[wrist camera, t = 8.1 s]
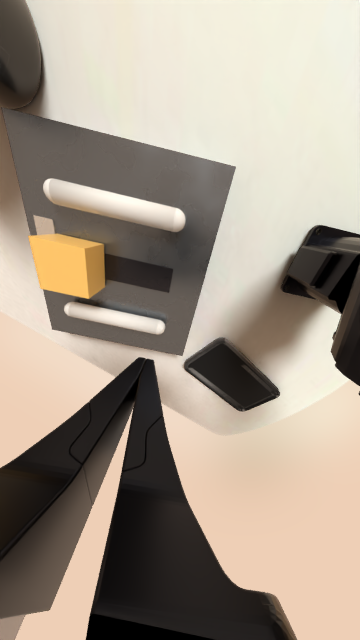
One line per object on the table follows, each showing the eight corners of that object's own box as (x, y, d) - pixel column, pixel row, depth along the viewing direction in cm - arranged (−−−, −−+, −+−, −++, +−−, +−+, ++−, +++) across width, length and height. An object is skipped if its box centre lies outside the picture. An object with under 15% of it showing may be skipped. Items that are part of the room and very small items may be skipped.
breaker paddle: (103, 244, 15) (84, 248, 12) (105, 287, 17) (88, 298, 14) (57, 233, 14) (28, 235, 12) (64, 278, 16) (40, 288, 14)
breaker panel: (228, 177, 14) (236, 166, 12) (183, 341, 23) (182, 356, 21) (38, 129, 14) (0, 106, 11) (68, 317, 23) (51, 329, 20)
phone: (241, 413, 29) (181, 366, 25) (239, 406, 30) (181, 361, 26) (283, 394, 26) (224, 338, 22) (280, 388, 27) (222, 333, 23)
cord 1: (167, 318, 18) (165, 326, 17) (165, 330, 19) (162, 338, 18) (69, 297, 18) (59, 304, 16) (71, 310, 19) (61, 318, 17)
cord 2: (187, 211, 13) (187, 209, 12) (183, 233, 14) (182, 234, 13) (52, 178, 13) (34, 173, 11) (55, 203, 14) (39, 201, 12)
